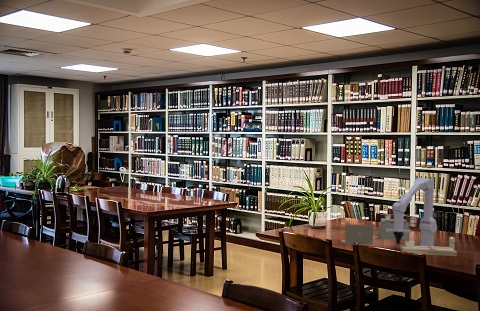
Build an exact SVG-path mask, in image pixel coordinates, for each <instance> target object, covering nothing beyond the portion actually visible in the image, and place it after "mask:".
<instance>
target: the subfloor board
mask: <svg viewBox="0 0 480 311" xmlns="http://www.w3.org/2000/svg"><path fill="white" fill-rule="evenodd" d="M399 250H400V251H401V253H403V252H407V253H414V254H413V255H423V254H425V255H426V256H428V255H429V256H443V257H445V256H448V257H457V256H458V255H457V254H458V251H456V250H455V248H454V249H452V248H451V247H449V246H435V247H433V246H421V245H414V247H406V246H405V245H404V244H399Z"/></svg>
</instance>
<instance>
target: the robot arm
mask: <svg viewBox="0 0 480 311" xmlns="http://www.w3.org/2000/svg"><path fill="white" fill-rule="evenodd" d="M434 183H435V181H434V180H432V178H424V177H423V178H422V177H416V178H415V180H414V181H413V185H412V186H411V187H410V189H409V190H408V191H407V193H403V194H402V196H401V197H400V199H398V201H397V202H394V203H393V204H392V206H391V210H392V213H393V219H394V229H386V232H393V233H394V236H395V238H396V240H395V241H396V245H399V246H400V245H401V244H400V243H401V238H402V236H403V233H409V234H412V229H409V230H407V229H403V222H404V216H405V215H404V214H405V212H406V210H407V208H408V205H409V204H410V202H411V201H412V200H413V196H415V194H417V193H418V192H419V191H420V190H422V193H424V198H423V199H424V200H423V217H422V218H421V219H420V222H419V226H418V228H419V230H420V232H421V235H420V243H419V246H433V247H436V246H435V245H434V244H435V243H434V242H435V234H436V232H437V230H438V225H437V221H436V220H435V219H434V217H433V216H434V211H433V210H434V195H435V193H434V191H435V190H434V189H435V188H434V185H435V184H434ZM395 231H398V232H395Z"/></svg>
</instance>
